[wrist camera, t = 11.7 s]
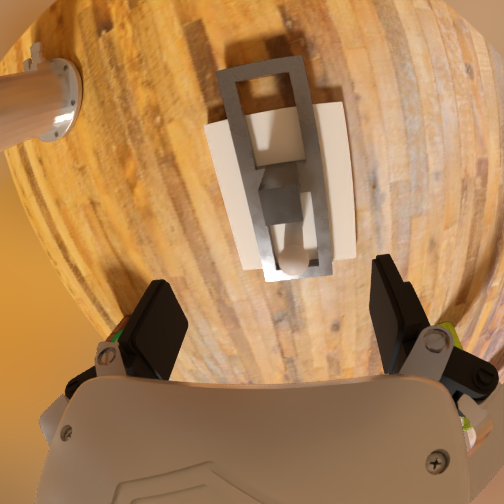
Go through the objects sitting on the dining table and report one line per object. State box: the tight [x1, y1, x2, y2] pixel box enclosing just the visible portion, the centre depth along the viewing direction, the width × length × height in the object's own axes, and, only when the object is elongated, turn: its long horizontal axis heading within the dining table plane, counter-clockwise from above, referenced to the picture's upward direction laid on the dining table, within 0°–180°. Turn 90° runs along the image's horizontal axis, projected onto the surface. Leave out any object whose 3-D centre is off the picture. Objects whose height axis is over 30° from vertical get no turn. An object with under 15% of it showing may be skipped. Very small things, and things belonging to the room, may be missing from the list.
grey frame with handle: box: [216, 55, 333, 282], centre depth 24 cm, size 24×8×8 cm, turn 12°
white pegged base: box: [204, 102, 356, 276], centre depth 25 cm, size 18×14×9 cm
